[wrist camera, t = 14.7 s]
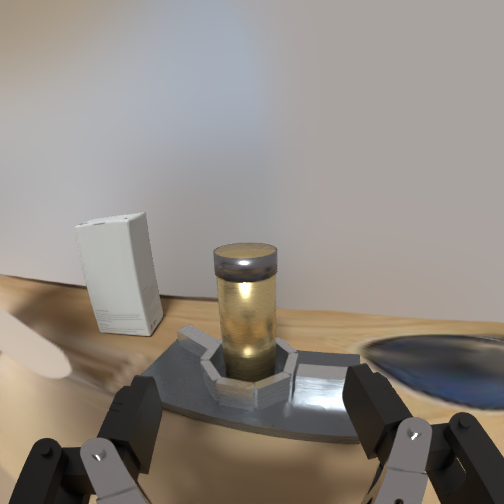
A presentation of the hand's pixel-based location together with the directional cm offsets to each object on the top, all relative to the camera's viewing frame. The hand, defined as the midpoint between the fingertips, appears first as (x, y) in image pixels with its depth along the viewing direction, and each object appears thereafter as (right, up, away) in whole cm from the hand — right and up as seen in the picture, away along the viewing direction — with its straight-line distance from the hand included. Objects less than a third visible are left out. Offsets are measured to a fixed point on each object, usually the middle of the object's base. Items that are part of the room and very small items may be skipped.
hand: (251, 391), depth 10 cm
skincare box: (-17, -5, +24) cm, 30 cm away
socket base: (0, -7, +13) cm, 15 cm away
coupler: (0, -6, +13) cm, 14 cm away
